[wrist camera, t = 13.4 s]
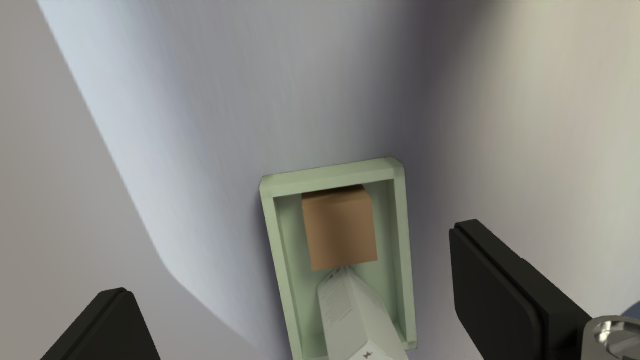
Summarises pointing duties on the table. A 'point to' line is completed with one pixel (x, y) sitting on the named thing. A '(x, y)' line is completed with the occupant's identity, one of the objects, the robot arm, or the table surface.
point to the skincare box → (356, 319)
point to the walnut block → (339, 226)
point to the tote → (382, 275)
